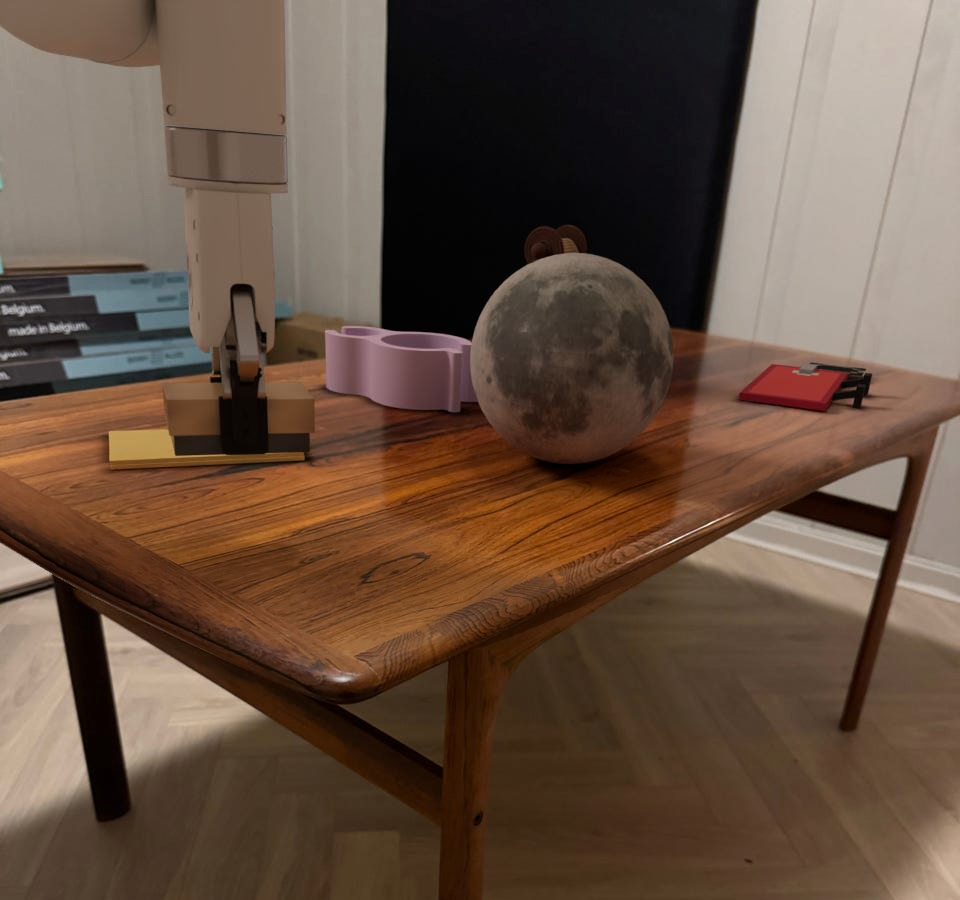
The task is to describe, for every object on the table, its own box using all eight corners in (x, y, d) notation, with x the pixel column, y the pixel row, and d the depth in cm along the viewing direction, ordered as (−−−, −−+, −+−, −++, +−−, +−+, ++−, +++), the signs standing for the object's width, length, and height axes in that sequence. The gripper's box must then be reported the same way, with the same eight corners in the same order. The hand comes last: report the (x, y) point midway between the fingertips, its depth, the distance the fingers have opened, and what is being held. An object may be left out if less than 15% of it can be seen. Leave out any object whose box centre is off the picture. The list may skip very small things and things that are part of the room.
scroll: (568, 400, 123) (584, 232, 114) (471, 381, 130) (479, 222, 121) (615, 382, 135) (633, 228, 126) (524, 366, 141) (535, 219, 132)
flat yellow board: (110, 469, 88) (109, 461, 88) (109, 435, 98) (108, 427, 98) (304, 460, 94) (304, 452, 94) (284, 428, 104) (284, 421, 104)
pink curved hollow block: (307, 391, 120) (305, 334, 116) (360, 375, 130) (360, 322, 127) (447, 416, 112) (450, 356, 109) (493, 397, 122) (496, 341, 119)
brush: (171, 457, 66) (166, 399, 64) (166, 437, 70) (162, 382, 68) (315, 453, 69) (314, 398, 67) (302, 434, 73) (302, 382, 71)
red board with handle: (878, 376, 147) (779, 365, 153) (882, 357, 146) (782, 347, 152) (853, 418, 123) (738, 402, 129) (858, 396, 122) (741, 381, 128)
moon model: (447, 434, 105) (455, 239, 96) (617, 432, 110) (639, 246, 101) (491, 493, 88) (506, 262, 79) (690, 488, 93) (725, 269, 84)
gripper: (159, 155, 67) (178, 412, 75) (176, 165, 53) (197, 481, 61) (267, 162, 69) (273, 411, 78) (310, 174, 55) (313, 476, 64)
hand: (239, 439), depth 69 cm, fingers closed on brush, 5 cm apart
